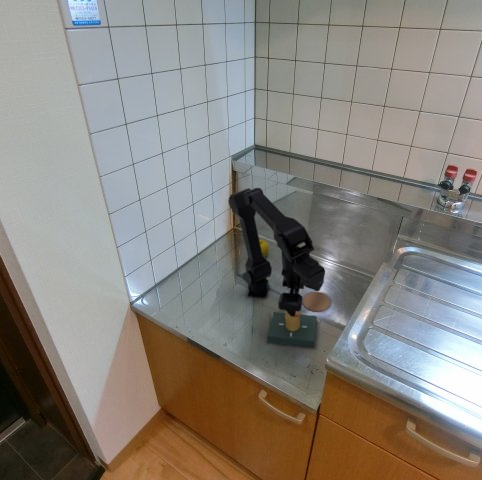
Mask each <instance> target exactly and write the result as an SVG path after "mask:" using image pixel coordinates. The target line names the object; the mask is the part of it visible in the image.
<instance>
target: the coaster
mask: <svg viewBox="0 0 482 480" xmlns="http://www.w3.org/2000/svg"><path fill="white" fill-rule="evenodd" d="M330 303H331V301H330V298H329V296H328V295H326V294H325V293H323V292H320V291H311V292H309V293H307V294H306V295H304V297H303V298H302V305H303V306H304V308H305V309H307V310H308V311H311V312H314V313H316V312H317V313H319V312H323V311H325V310H327V309H328V308H329V307H330Z"/></svg>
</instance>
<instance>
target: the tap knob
mask: <svg viewBox="0 0 482 480" xmlns="http://www.w3.org/2000/svg"><path fill="white" fill-rule="evenodd" d="M285 313H286V314H285V323H286V328H287V329H288V330H290V331H296V330H298V329H299V327H300V317H299V314H300V313H299V311H296V313H295V317H291V316H290V315H289V314H288V312H287V311H285Z"/></svg>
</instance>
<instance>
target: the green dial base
mask: <svg viewBox="0 0 482 480" xmlns="http://www.w3.org/2000/svg"><path fill="white" fill-rule="evenodd" d="M285 314H286V312H280V311H279V312H278V311H273V312H272V316H271V320H270V325H269V329H268V334H267V342H268V343H272V344H273V343H274V344H282V345H291V346H298V347H306V348H315V343H316V342H315V341H316V333H317V326H318V316H317V315H310V314H301V313H299V317H300V327H299V329H298V330H296V331H290V330H288V329H287V328H286V323H285Z"/></svg>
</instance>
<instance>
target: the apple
mask: <svg viewBox="0 0 482 480" xmlns="http://www.w3.org/2000/svg"><path fill="white" fill-rule="evenodd" d="M259 241H260V246H261V250H262V255H263V257H264V258H266V257H267V255H268V253H269V251H270V245H269V243H268V242H267V241H266V240H265V239H262V238H259Z"/></svg>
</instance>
